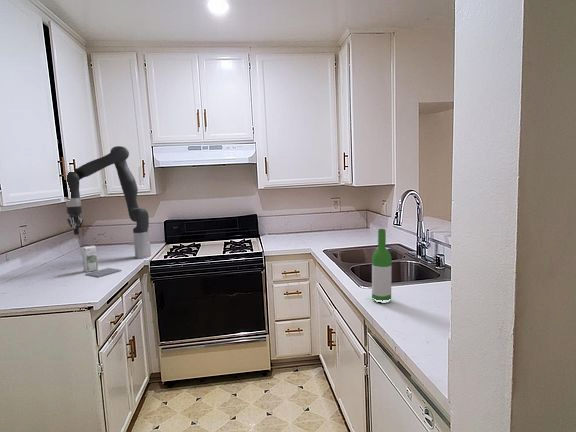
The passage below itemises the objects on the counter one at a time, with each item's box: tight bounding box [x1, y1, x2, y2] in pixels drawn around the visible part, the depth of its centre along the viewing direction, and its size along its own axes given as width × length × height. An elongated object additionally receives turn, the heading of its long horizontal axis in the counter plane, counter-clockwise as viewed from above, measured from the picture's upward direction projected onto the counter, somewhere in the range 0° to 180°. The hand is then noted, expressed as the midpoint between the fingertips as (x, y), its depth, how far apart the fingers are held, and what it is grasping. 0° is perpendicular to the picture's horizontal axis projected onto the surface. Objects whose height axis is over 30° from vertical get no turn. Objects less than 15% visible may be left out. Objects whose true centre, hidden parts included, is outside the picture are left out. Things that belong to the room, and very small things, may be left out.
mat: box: [84, 267, 122, 278], centre depth 198 cm, size 14×12×1 cm
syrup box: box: [81, 245, 99, 273], centre depth 203 cm, size 6×6×14 cm
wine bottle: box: [371, 228, 392, 301], centre depth 141 cm, size 8×8×30 cm
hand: (76, 234), depth 207 cm, fingers closed
